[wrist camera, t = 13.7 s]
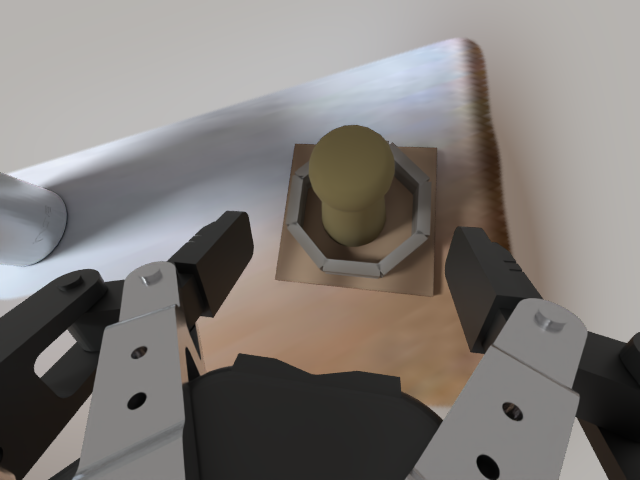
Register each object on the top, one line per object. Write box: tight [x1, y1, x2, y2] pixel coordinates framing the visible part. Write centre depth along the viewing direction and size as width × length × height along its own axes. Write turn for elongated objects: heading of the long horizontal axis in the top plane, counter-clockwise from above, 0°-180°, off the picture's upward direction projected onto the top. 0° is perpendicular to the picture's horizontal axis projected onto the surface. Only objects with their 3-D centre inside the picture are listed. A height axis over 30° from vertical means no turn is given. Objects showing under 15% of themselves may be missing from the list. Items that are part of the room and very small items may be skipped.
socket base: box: [275, 141, 437, 297], centre depth 25 cm, size 14×14×4 cm
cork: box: [309, 125, 395, 247], centre depth 20 cm, size 6×6×11 cm
